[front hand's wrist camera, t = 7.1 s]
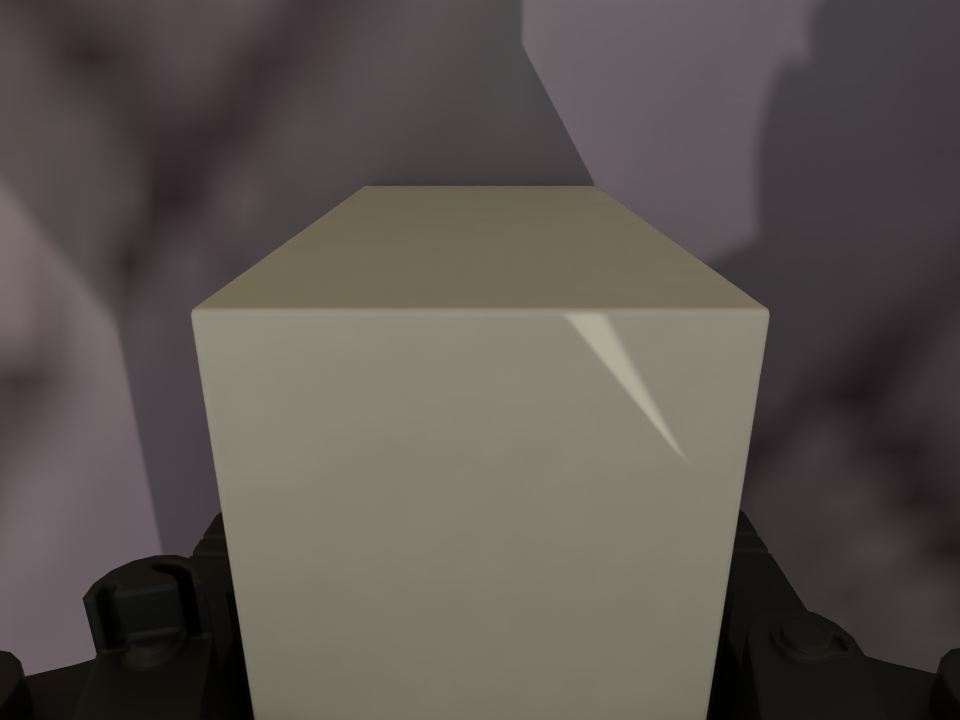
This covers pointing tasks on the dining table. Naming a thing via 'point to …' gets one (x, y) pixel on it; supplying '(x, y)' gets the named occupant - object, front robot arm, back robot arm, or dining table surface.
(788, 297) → the dining table surface
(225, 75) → the dining table surface
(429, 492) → the beam
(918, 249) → the dining table surface
